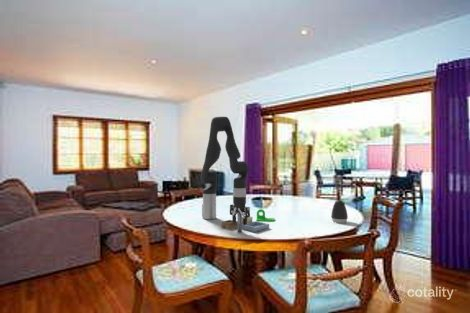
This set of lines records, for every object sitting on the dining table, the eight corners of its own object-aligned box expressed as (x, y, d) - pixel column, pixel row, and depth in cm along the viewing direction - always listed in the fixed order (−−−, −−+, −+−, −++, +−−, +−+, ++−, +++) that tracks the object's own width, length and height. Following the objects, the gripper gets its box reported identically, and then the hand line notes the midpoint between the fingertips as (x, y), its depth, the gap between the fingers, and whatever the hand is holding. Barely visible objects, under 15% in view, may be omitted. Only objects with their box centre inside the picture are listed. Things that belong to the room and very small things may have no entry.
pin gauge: (236, 232, 171) (236, 211, 171) (239, 231, 173) (239, 210, 173) (239, 232, 169) (239, 212, 169) (242, 232, 171) (242, 211, 171)
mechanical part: (256, 222, 197) (256, 210, 197) (257, 220, 203) (257, 209, 203) (274, 223, 195) (274, 211, 195) (274, 221, 201) (274, 209, 201)
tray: (241, 229, 177) (241, 224, 177) (255, 225, 186) (255, 221, 186) (255, 232, 169) (255, 227, 169) (269, 229, 178) (269, 224, 178)
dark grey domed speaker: (337, 225, 188) (337, 201, 188) (328, 221, 198) (328, 199, 198) (351, 224, 190) (351, 200, 190) (341, 221, 200) (341, 198, 200)
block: (241, 226, 185) (241, 216, 185) (246, 225, 189) (246, 215, 189) (246, 227, 182) (246, 217, 182) (252, 226, 185) (252, 216, 185)
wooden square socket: (221, 228, 180) (221, 221, 180) (229, 226, 185) (229, 219, 185) (229, 230, 175) (229, 223, 175) (237, 228, 180) (237, 221, 180)
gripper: (226, 195, 173) (226, 222, 173) (243, 197, 163) (243, 226, 163) (235, 194, 178) (235, 220, 178) (253, 196, 168) (253, 224, 168)
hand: (239, 223), depth 171 cm, fingers open, 8 cm apart
